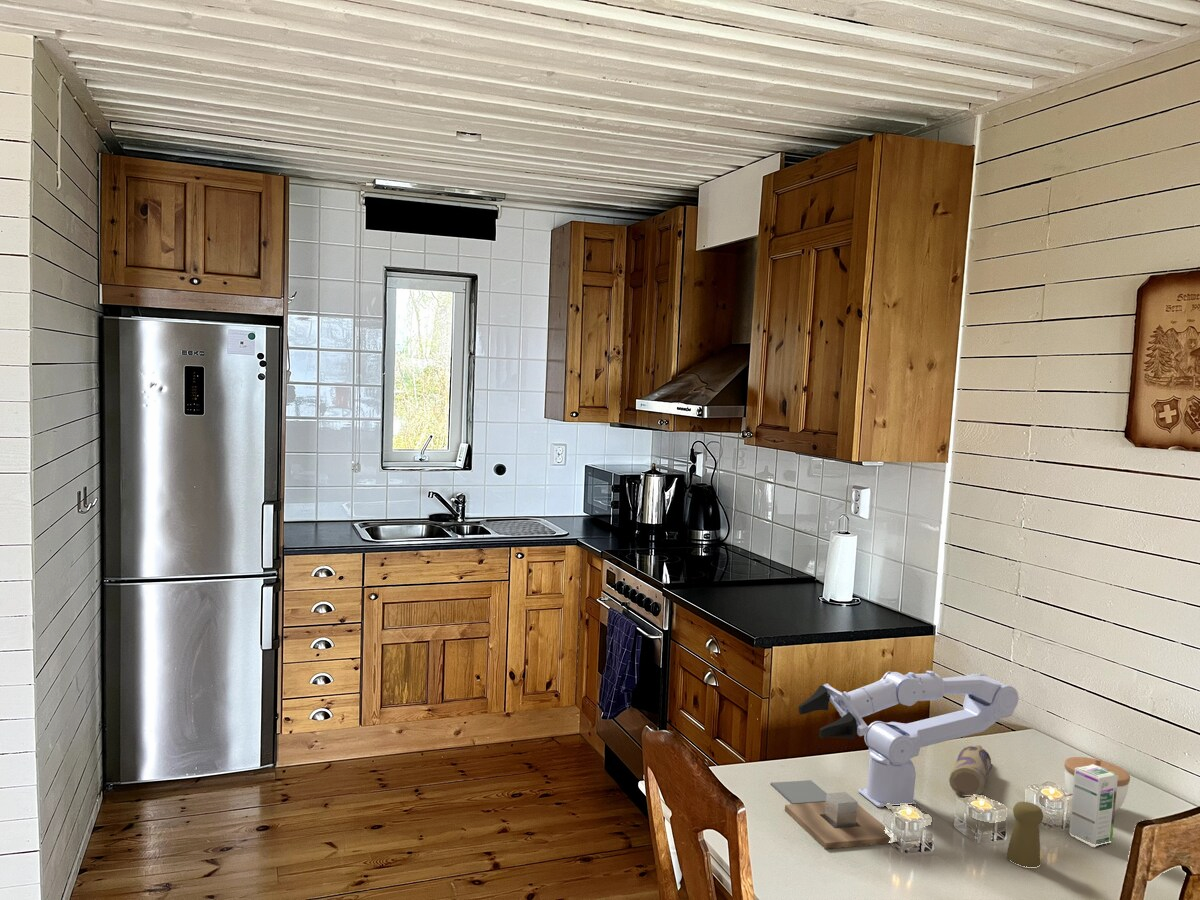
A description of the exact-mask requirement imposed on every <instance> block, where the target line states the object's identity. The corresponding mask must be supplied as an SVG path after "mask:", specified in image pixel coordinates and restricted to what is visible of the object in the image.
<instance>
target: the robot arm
mask: <svg viewBox="0 0 1200 900" xmlns="http://www.w3.org/2000/svg"><path fill="white" fill-rule="evenodd" d="M944 695H965V696H964V700H963V703H962V707H963V709H961V710H958V711H957V710H956V711H953V712H948V713H945V714H940V715H936V716H933V717H929V718H925V719H924V718H923V719H920V720H917V721H913V722H907V723H904V722H903V723H902V722H897V721H890V722H884V721H881V720H875V721H873V722H871V723H870V724H869V725H867V723H866V722H865V721H864V719H863V718H865V717H867V716H870V715H873V714H875V713H877V712H880V711H883V710H885V709H888V708H891V707H893V706H896V705H899V704H901V705H903V706H907V707H911V706H914V705H915V704H916V703H917V702H926V701H939V700H941V699H942V698H943V697H944ZM1019 697H1020V696H1019V693H1018V690H1017V689H1016V688H1015V687H1013V686H1011V685H1007V684H1005V683H1003V682H1001V681H998V680H996V679H994V678H992V677H990V676H988V675H986V674H984V673H973V672H972V673H971V674H969V675H959V676H951V677H950V676H949V677H941V676H940V674H938V673H935V672H934V671H932V670H925V672H924V673H915V672H912V671H909V672H908V673H906V674H902V673H900V672H898V671H890V670H888V671H887V672H886V673H884V675H883V676H882V677H881V679H879V680H877V681H875V682H872V683H870V684H867V685H863V686H861V687H859V688H857V689H853V690H851V691H848V692H847V691H843V692H842V691H839V690H837V689H836V688H834V687H832V686H831V685H830V684H829V683H824V684H821V685H819V686H818V688H817V689H816V691H814V693H813V694H812V695H811V696H810V697H809V698H807V699H806V700H804V701H803V702H802V703H800V704H799V705H798V713H799V714H800V715H805V714H808V713H812V712H817V711H828V710H829V703H831V704H832V706H833V707H834V708H835V709H836V711H837V712H838V714H839V716H840V718H839V719H837V720H835V721H833V722H831V723H828V724H826V725H823V726H822V727H819V731H818V735H819V738H820V739H825V738H844V739H847V740H853V739H855V738H856V736H855V735H856V734H857V735H858V736H859V737H863V736H864V737H863V738H864V742H865V744H866V746H867V747H868V754H869V759H868V761H869V762H868V769H867V770H868V771H867V779H866V780H867V783H866V788H858V789H857V791H858V793H859V794H860V795H862V796H863V797H864V798H866V799H867V800H868V801H869V802H870V803H872V804H873V805H875V806H876V807H878V808H885V807H884V806H885V805H886V804H887V803H890V804H900V803H912V804H915V805H916V801H914V797H915V788H916V787H915V786H916V776H917V773H916V768H915V765H914V763H913V762H912V760H911V759H912V758H915V757H918V756H919V754H920V750H921V748H924V747H929V746H932V745H936V744H940V743H945V742H948V741H951V740H956V739H960V738H964V737H967V736H971V735H976V734H979V733H982V732H984V731H986V730H987V729H988V728H990V727H992V726H993V725H995V724H996V723H997V722H998V721H999V720H1000V719H1006V718H1009V717H1012V716H1013V714H1014V712H1015V710H1016V708H1017V706H1018V703H1019Z"/></svg>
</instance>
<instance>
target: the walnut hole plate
mask: <svg viewBox="0 0 1200 900" xmlns="http://www.w3.org/2000/svg"><path fill="white" fill-rule="evenodd" d="M825 806H826V802H817V803H803V804H791V803H790V804H784V811H785V812H786V813H787V814H788V815H789V816H790V817H791V818H792V819H793V820H794V821H795V822H796V823H797V824H798V825H799V826H800V827H801V828H802V829H804V831H805V832H806V833H808V835H810V836H811V837H812V838H813V839H814V840H815V841H816V842H817V843H818V844H819V845H820V844H821V845H822V846H823V847H824V848H823V847H822V848H823V849H824V850H831V849H830V848H833V849H841V847H845V848H852V847H851V846H856V847H863V846H862V845H867V846H872V845H871V844H879V845H886V844H885V843H888V842H889V840H890V837H889V836H888V835H887V834H885V831H884V830H885V827H886V826H885V825H884V824H883V823H882V822H880V821H879V820H878V819H877V818H876V817H874V816H873V815H871V813H869V812H868V811H867V810H866V809H865V808H863V807H862V806H860V805H859V804H858V805H857V815H856V826H855V827H848V828H836V829H835V828H834V827H833V826H831V825H830V824H829V823H828V822H827V821H826V820H825V819H824V817H825ZM860 845H861V846H860Z"/></svg>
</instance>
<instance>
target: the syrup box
mask: <svg viewBox="0 0 1200 900" xmlns="http://www.w3.org/2000/svg"><path fill="white" fill-rule="evenodd" d="M1117 781H1118V775H1117V774H1116V773H1114V772H1112V771H1110V770H1107V769H1105V768H1102V767H1100V766H1096V765H1093V764H1092V765H1089V766H1084V767H1079V768H1078V767H1077V768H1075V773H1074V783H1073V795H1072V800H1071V808H1070V819H1069V821H1070V822H1069V830H1068V834H1069V833H1071V834H1072V835H1074V836H1077V837H1079V838H1081V839H1083V840H1085V841H1087V842H1090V843H1092V844H1095V845H1096V844H1101V843H1105V842H1109V841H1112V842H1113V836H1114V835H1113V834H1114V821H1115V813H1116V812H1115V803H1116V792H1117Z"/></svg>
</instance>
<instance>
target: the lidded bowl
mask: <svg viewBox="0 0 1200 900" xmlns="http://www.w3.org/2000/svg"><path fill="white" fill-rule="evenodd" d="M1092 764H1093V765H1096V766H1100V767H1102V768H1105V769H1107V770H1110V771H1112V772H1114V773H1116V774H1117V775H1118V781H1117V792H1116V803H1115V811H1117V810H1119V809H1120V808H1121V807H1122V806H1123V804H1124V803H1125V800H1126V799H1127V795H1128V791H1129V785H1130V781H1131V776H1130V774H1129V772H1127V770H1125V769H1124V768H1122V767H1120V766H1118V765H1116V764H1114V763H1111V762H1108V761H1105V760H1101V759H1099V758H1092V757H1085V756H1074V757H1072V756H1071V757H1069V758H1066V760H1065V761H1064V773H1063V774H1064V777H1063V778H1064V787H1065V791H1066V793H1067V794H1068V793H1072V794H1073V783H1074V773H1075V768H1077V767H1078V768H1079V767H1084V766H1089V765H1092Z"/></svg>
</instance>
